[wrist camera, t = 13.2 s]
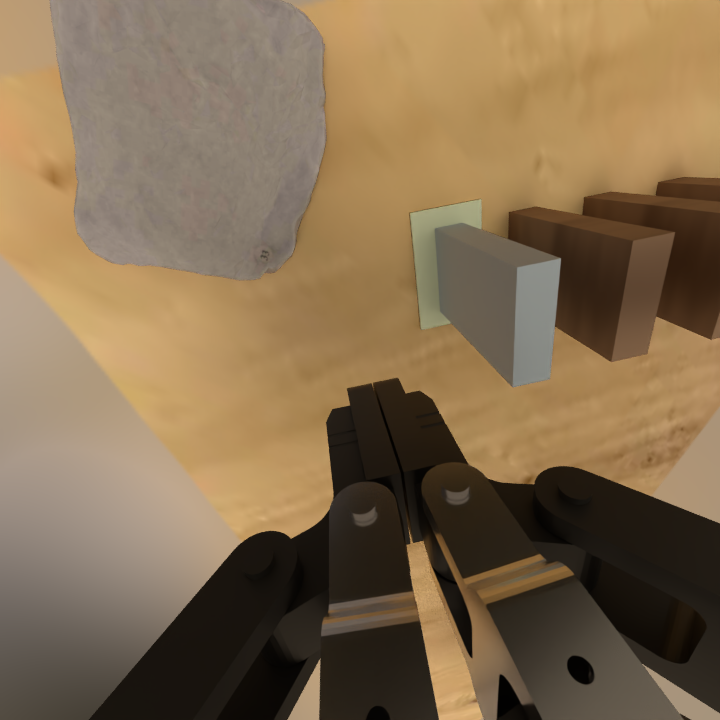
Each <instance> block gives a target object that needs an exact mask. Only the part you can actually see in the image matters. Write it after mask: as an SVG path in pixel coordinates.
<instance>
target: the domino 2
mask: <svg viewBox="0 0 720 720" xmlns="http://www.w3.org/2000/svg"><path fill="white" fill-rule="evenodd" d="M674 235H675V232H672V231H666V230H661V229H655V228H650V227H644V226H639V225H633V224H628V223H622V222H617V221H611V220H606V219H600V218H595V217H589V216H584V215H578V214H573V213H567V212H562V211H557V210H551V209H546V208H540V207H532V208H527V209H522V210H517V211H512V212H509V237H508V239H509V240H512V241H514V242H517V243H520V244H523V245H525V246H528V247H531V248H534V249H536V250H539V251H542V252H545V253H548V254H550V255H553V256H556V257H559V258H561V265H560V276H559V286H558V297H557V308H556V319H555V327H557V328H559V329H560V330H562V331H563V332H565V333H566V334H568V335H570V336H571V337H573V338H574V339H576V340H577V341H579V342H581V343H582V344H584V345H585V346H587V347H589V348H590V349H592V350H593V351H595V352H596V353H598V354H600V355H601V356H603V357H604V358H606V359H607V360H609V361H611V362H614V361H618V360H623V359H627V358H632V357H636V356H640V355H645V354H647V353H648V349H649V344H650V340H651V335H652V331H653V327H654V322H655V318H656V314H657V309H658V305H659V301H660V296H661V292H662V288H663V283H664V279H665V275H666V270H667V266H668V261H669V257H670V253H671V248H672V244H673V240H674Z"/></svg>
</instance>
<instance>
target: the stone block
mask: <svg viewBox="0 0 720 720" xmlns="http://www.w3.org/2000/svg"><path fill="white" fill-rule="evenodd" d="M50 9H51V17H52V24H53V31H54V37H55V43H56V53H57V54H56V55H57V61H58V66H59V71H60V77H61V82H62V88H63V93H64V97H65V101H66V105H67V109H68V113H69V116H70V121H71V126H72V131H73V138H74V144H75V151H76V164H75V171H76V176H77V182H78V184H77V191H76V199H75V206H74V217H75V223H76V229H77V234H78V235H79V236H80V237H81V238H82V240H83V241H84V243H85V244H86V246H87V247H88V248H89V250H91V251H92V252H93V253H95V254H96V255H98V256H100V257H102V258H104V259H105V260H107V261H109V262H111V263H115V264H121V265H125V264H134V265H138V266H147V265H152V266H158V267H165V268H170V269H176V270H182V271H188V272H194V273H198V274H201V275H210V276H219V277H225V278H230V279H235V280H255V279H259V278H261V277H262V275H263V274H264V273H275V272H276V271H277V270H278V269H279V268H281V266H282V265H283V264H284V263H285V262H286V261H287V260H288V259H289V258H290V257H291V256H292V254H293V251H294V248H295V244H296V235H297V231H298V228H299V225H300V222H301V220H302V217H303V214H304V212H305V210H306V208H307V207H308V205H309V202H310V199H311V195H312V191H313V189H314V186H315V184H316V180H317V176H318V173H319V167H320V164H321V161H322V157H323V153H324V149H325V144H326V125H325V112H324V108H323V107H324V103H325V95H326V93H325V89H324V84H323V64H324V63H323V55H324V50H325V44H324V43H323V38H322V36H321V35H320V33H319V31H318V30H317V28H316V27H315V26H314V24H313V23H312V22H311V20H310V19H309V18H308V17H307V16H306V14H305V13H303V12H302V11H300V10H299V9H297V8H296V7H294V6H293V5H292V4H289V3H286V2H284V1H282V0H50Z"/></svg>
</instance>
